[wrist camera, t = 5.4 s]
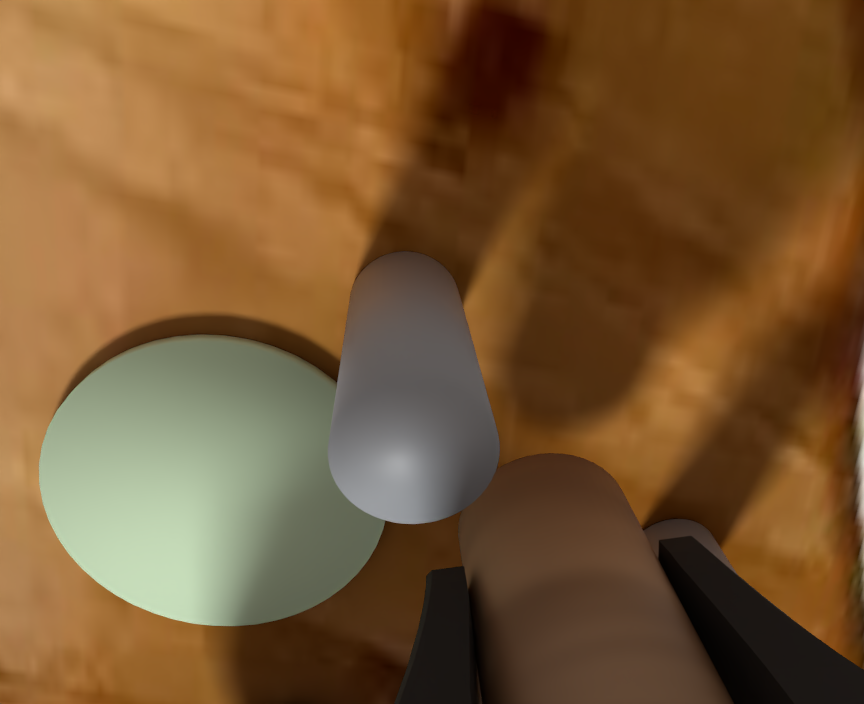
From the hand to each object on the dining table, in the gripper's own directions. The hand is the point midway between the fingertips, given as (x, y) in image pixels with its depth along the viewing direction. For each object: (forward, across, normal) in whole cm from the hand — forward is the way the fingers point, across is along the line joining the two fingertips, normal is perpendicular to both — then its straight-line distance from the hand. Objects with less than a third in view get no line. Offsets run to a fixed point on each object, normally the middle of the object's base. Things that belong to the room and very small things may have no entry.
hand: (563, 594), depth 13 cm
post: (+4, +2, -4) cm, 7 cm away
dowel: (+2, 0, 0) cm, 2 cm away
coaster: (+4, +7, 0) cm, 9 cm away
